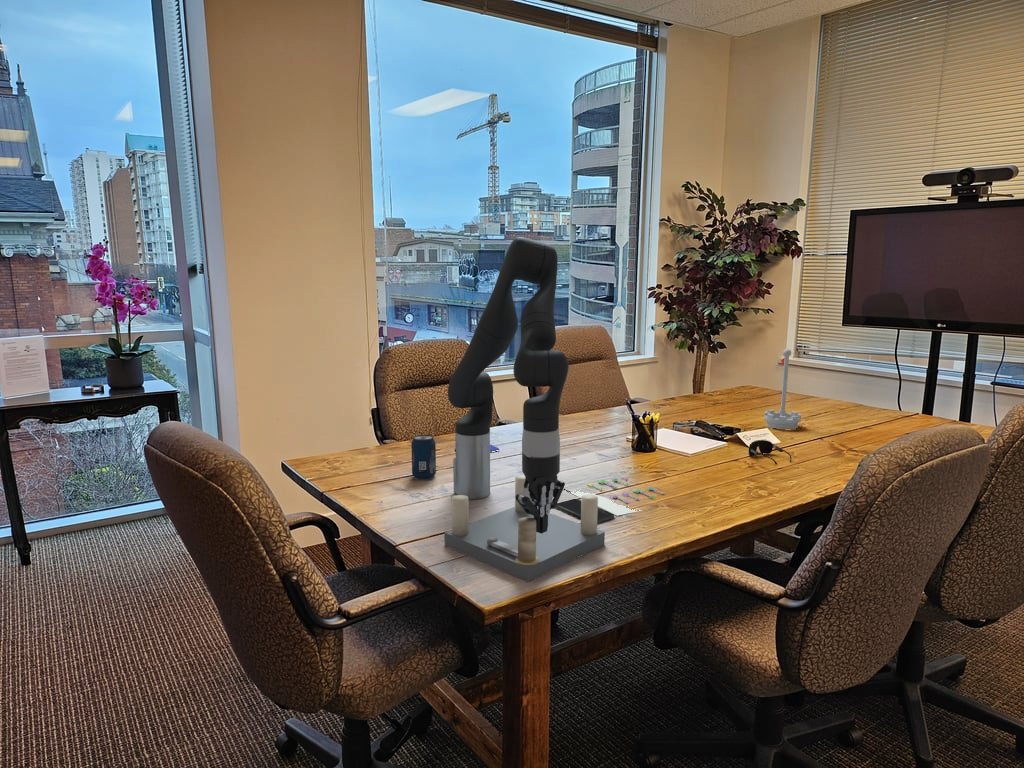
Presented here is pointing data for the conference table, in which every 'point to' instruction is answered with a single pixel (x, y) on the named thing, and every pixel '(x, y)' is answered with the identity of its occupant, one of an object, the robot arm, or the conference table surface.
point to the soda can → (423, 457)
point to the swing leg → (520, 541)
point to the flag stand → (783, 404)
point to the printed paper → (607, 503)
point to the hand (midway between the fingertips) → (540, 531)
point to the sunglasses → (764, 448)
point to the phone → (574, 510)
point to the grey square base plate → (551, 546)
